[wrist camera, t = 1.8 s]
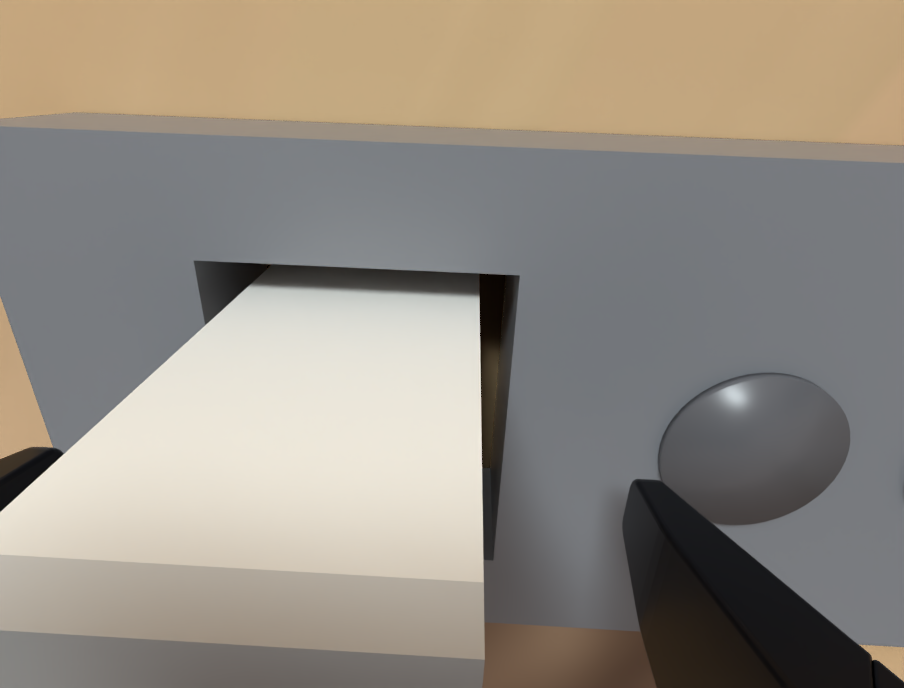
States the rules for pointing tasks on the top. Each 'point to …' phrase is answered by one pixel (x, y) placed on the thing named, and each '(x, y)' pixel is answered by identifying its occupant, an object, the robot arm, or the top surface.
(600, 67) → the top surface
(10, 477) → the robot arm
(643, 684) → the pad
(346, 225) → the power strip
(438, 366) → the plug
